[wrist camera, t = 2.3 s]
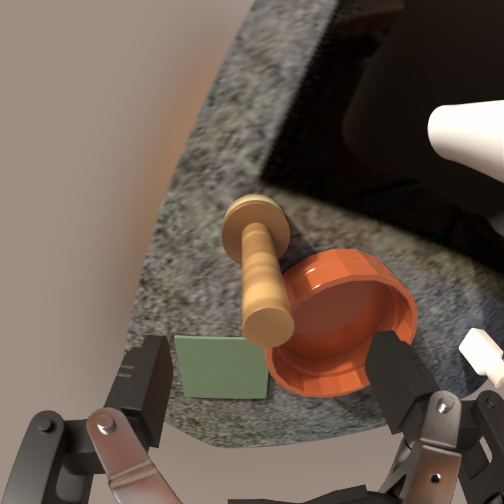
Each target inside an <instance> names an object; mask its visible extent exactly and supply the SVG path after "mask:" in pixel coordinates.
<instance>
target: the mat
mask: <svg viewBox="0 0 504 504" xmlns="http://www.w3.org/2000/svg"><path fill="white" fill-rule="evenodd" d="M174 338H175V344H176V349H177V355H178V360H179V366H180V371H181V376H182V381H183V386H184V390H185V395H186V397H198V398H226V399H257V398H266V396H267V385H268V373H269V369H268V366H267V364H266V361H265V355H264V348H261V347H257V346H255V345H253V344H251V343H250V342H249V341H248V340H247V339H246V338H245V337H205V336H178V335H175V337H174Z"/></svg>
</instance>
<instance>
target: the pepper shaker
mask: <svg viewBox="0 0 504 504" xmlns="http://www.w3.org/2000/svg"><path fill="white" fill-rule="evenodd" d="M459 350H460V351H461V353H462V354H463V355H464V356H465V358H466V359H467V360H468V362H469V363H470V364H471V366H472V367H473V368H474V370H475V371H476V372H477V374H478V375H487V377H488V378H489V380H490V382H491V383H492V385H493V386H494V387H495V388H499V387H500V386H502V385H503V384H504V361H503V360H502V356H503V351H502V350H501V349H500V348H499V346H498V345H497V344H496V343H495V342H494V341H493V340H492V339H491V337H490V336H489V335H488V334H487V333H486V332H485V331H484V330H481V329H475V328H472V329H471V330H470V331H469V332H468V334H467V335H466V337H465V338H464V340H463V341H462V343H461V344H460V346H459Z"/></svg>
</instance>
